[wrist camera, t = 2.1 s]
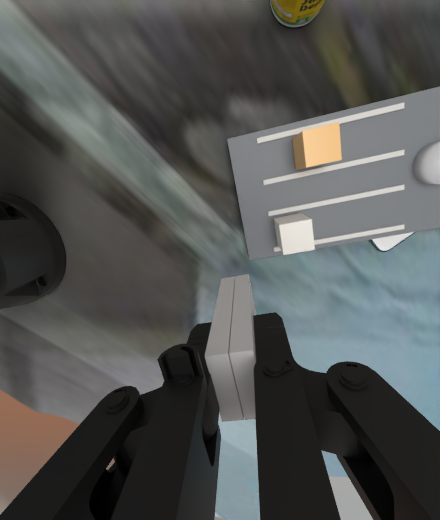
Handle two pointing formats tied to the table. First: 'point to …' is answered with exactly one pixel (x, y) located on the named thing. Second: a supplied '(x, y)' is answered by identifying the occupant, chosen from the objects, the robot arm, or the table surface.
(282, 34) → the table surface
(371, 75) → the table surface
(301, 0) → the supplement bottle
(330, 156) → the slider orange
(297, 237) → the slider ivory
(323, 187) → the console
